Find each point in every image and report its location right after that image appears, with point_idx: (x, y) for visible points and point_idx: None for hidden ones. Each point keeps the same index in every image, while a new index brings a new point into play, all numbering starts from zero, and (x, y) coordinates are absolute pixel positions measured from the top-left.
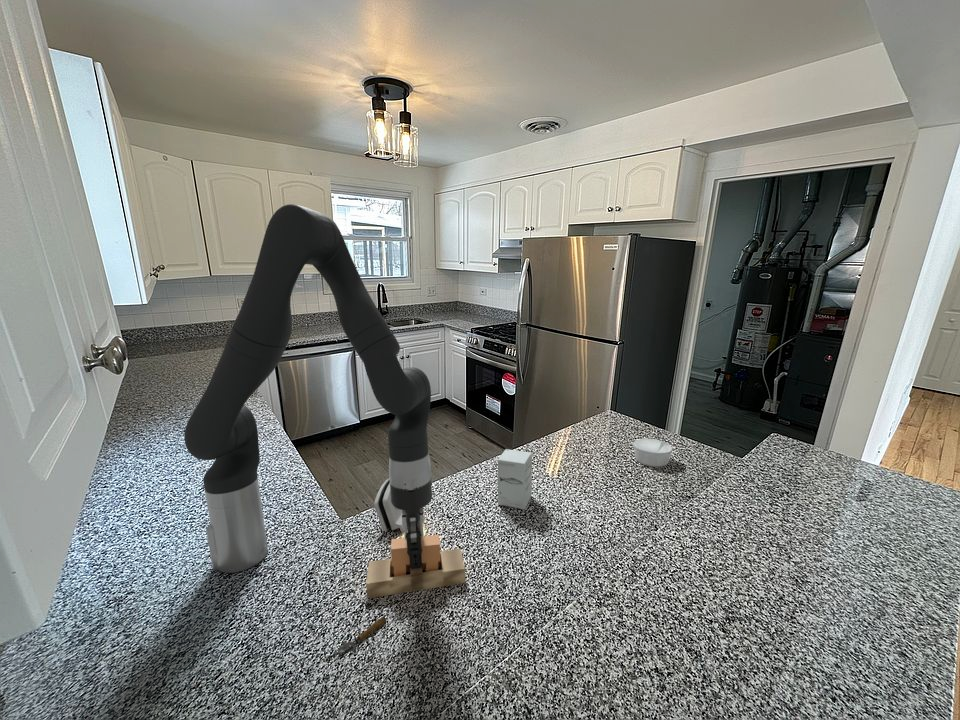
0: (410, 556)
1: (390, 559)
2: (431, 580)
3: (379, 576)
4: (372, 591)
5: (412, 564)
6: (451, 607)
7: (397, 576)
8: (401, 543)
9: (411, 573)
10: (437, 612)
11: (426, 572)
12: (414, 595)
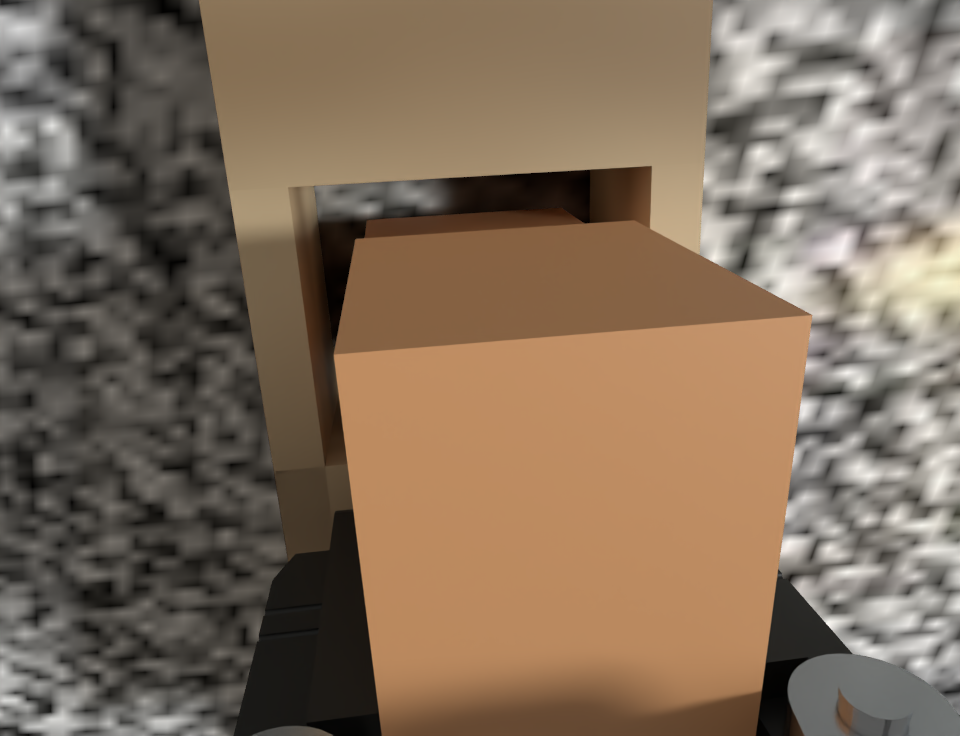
0: (316, 655)
1: (681, 163)
2: None
3: (325, 19)
4: None
5: (266, 609)
6: (81, 731)
7: (301, 302)
8: (569, 581)
9: (343, 476)
10: (20, 633)
11: None
12: (242, 426)
